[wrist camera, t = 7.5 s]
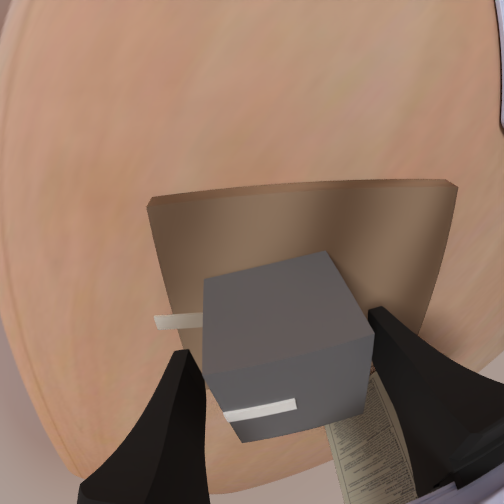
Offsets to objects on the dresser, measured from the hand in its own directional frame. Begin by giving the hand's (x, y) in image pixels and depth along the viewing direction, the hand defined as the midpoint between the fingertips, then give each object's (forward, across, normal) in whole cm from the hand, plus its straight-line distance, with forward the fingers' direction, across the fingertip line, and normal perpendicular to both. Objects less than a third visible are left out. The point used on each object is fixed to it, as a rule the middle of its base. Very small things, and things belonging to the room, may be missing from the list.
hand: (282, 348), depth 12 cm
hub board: (+3, -2, 0) cm, 4 cm away
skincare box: (+3, -5, +12) cm, 13 cm away
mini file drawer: (+2, 0, 0) cm, 2 cm away
